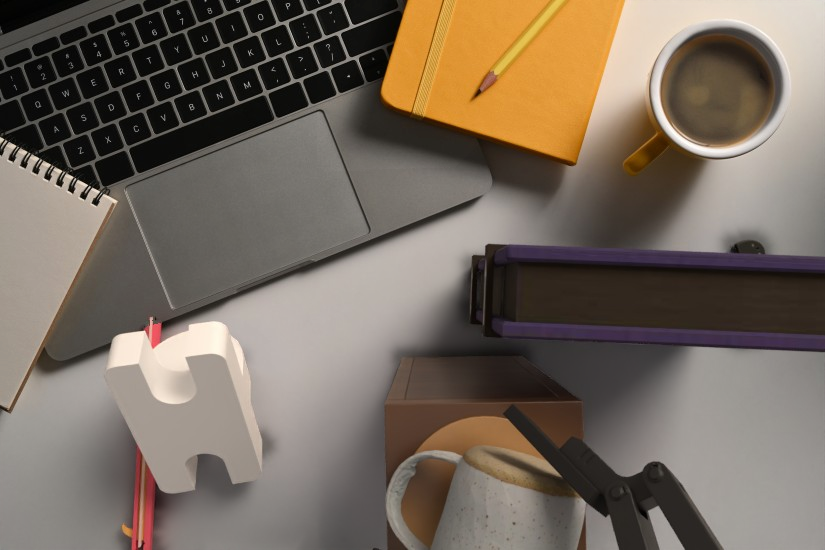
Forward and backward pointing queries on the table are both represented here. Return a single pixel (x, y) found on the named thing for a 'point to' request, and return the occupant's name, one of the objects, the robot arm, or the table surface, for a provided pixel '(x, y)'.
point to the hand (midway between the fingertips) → (451, 487)
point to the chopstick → (144, 480)
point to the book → (650, 297)
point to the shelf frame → (472, 379)
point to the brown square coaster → (462, 446)
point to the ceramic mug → (494, 503)
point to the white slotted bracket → (187, 403)
